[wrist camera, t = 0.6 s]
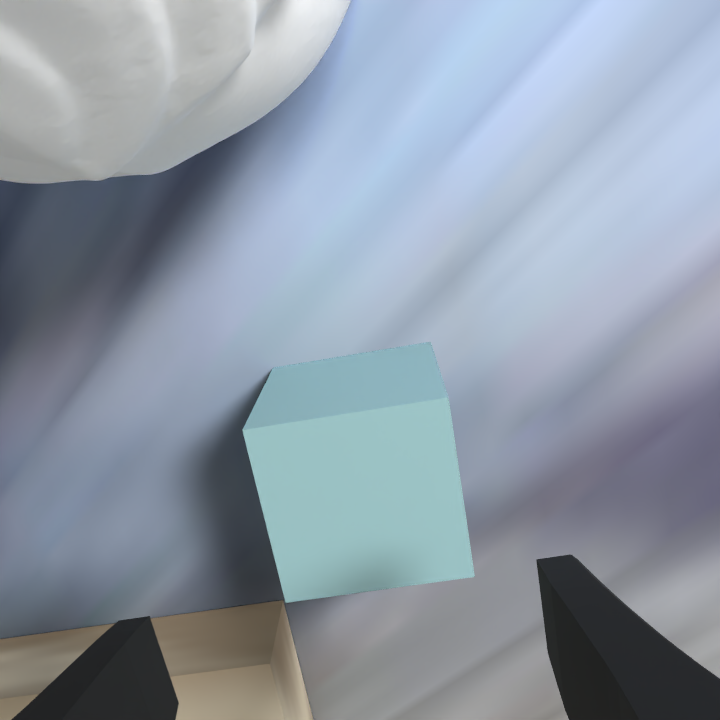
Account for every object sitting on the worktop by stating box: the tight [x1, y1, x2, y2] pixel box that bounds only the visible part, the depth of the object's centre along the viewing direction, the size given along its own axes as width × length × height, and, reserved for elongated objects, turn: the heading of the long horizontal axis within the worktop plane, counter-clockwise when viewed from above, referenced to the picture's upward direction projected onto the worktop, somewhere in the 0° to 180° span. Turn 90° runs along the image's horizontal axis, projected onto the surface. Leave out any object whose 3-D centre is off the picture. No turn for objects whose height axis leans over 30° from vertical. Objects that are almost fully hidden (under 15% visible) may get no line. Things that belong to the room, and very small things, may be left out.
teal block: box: [242, 342, 475, 603], centre depth 18 cm, size 5×5×5 cm
